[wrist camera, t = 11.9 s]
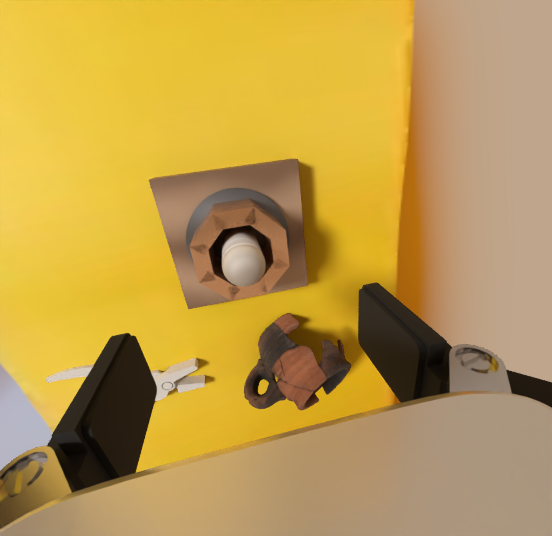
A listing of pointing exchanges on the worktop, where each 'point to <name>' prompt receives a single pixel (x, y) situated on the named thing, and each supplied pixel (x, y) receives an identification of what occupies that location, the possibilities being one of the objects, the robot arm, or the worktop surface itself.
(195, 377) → the pliers
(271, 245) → the ring
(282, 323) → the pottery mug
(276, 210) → the shaft block
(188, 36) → the worktop surface
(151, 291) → the worktop surface
